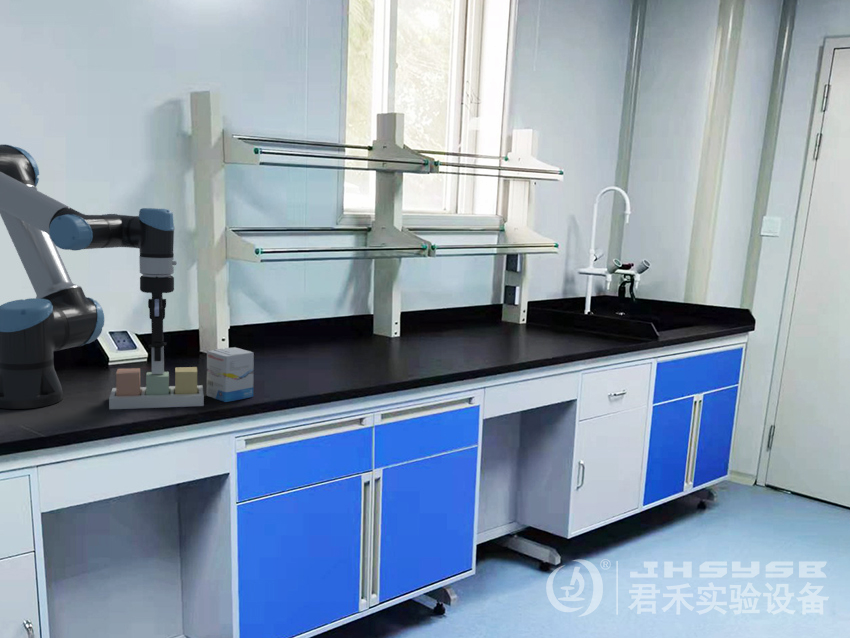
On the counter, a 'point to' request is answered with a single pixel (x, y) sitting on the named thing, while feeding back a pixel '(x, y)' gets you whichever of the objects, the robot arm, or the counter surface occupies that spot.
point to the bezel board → (156, 399)
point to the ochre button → (186, 380)
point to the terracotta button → (128, 382)
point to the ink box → (230, 374)
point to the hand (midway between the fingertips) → (157, 373)
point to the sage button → (157, 384)
